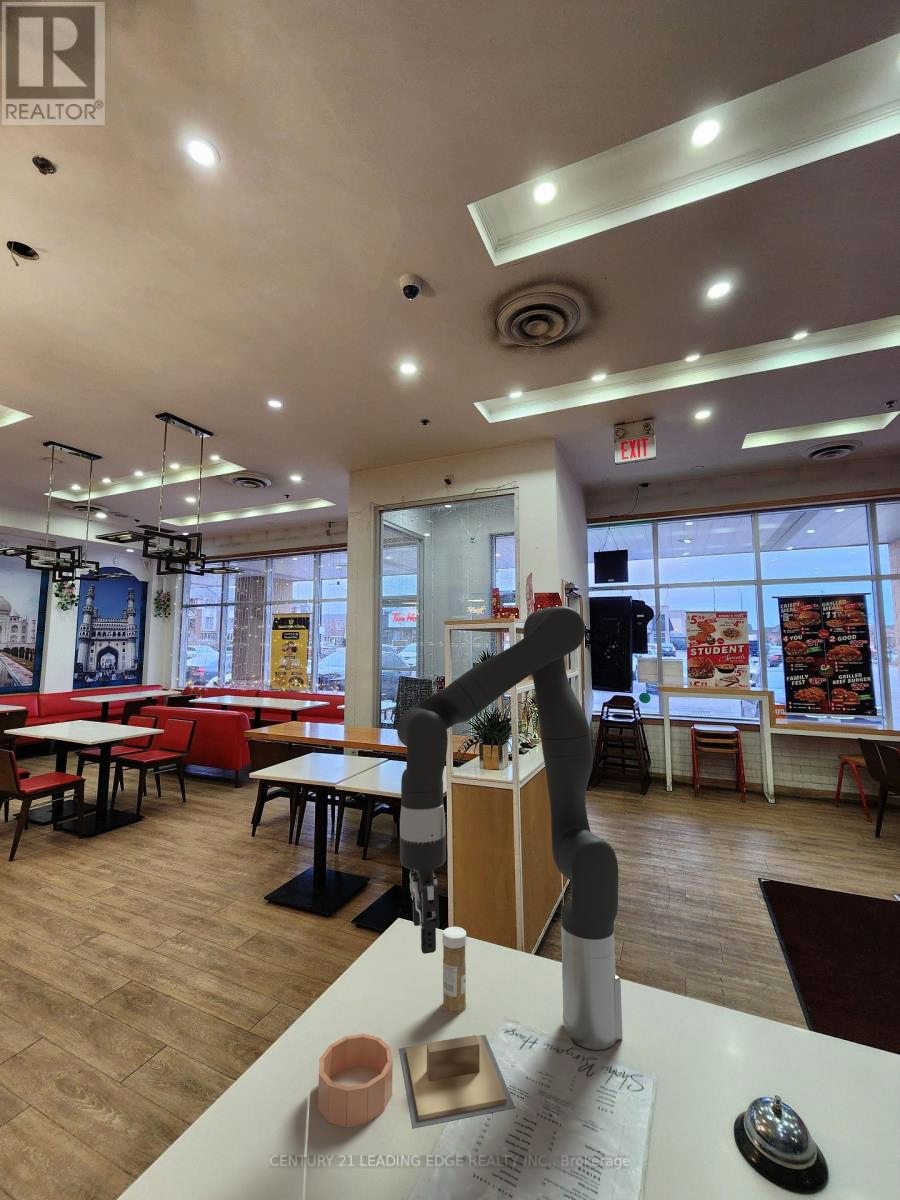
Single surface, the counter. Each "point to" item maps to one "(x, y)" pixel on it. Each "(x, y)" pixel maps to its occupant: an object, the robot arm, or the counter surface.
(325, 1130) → the counter surface
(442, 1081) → the board
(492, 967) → the counter surface
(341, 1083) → the terracotta ring
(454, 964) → the sprinkles bottle
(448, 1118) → the rubber mat
